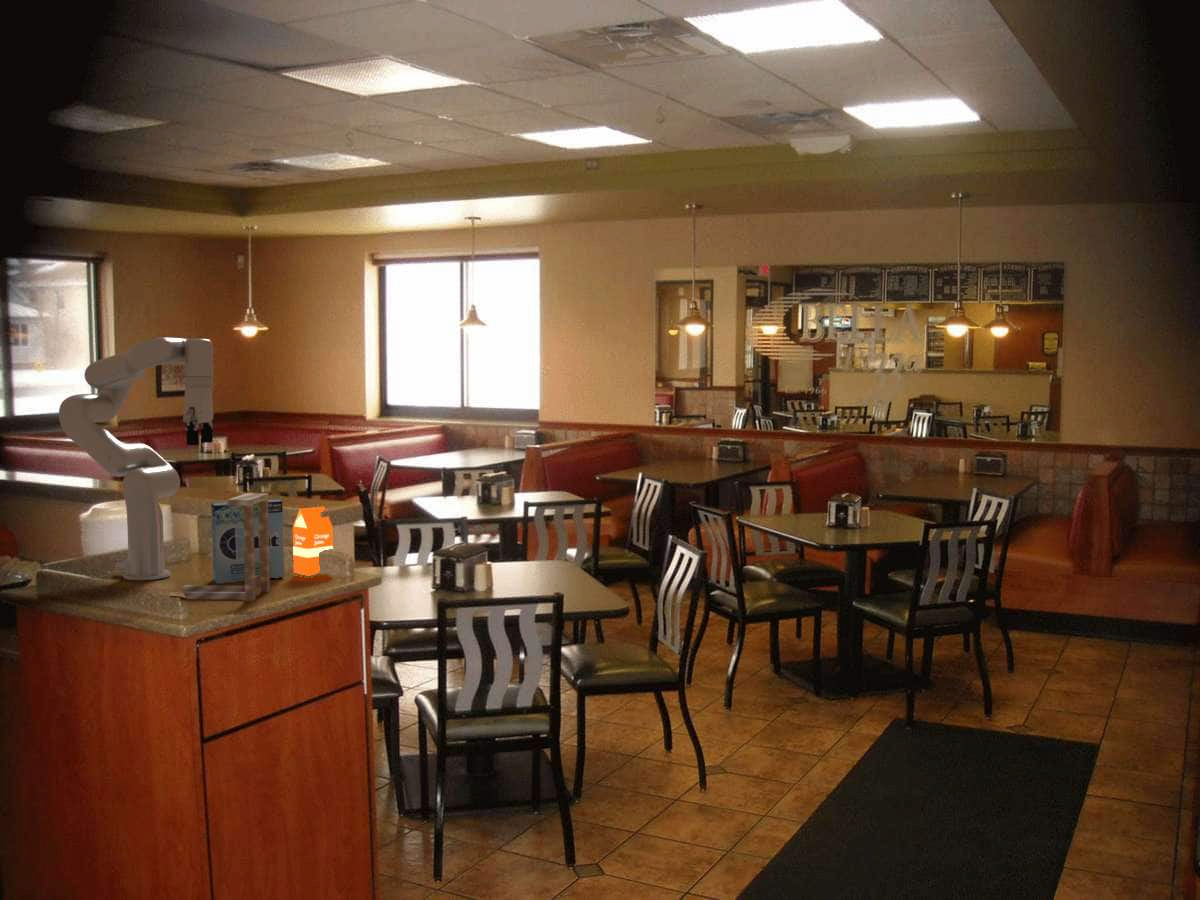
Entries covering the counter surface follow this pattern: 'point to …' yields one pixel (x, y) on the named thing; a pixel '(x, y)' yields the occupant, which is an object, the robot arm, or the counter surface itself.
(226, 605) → the counter surface
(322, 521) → the orange juice
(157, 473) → the robot arm
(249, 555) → the metal strip frame
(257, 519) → the gum box
